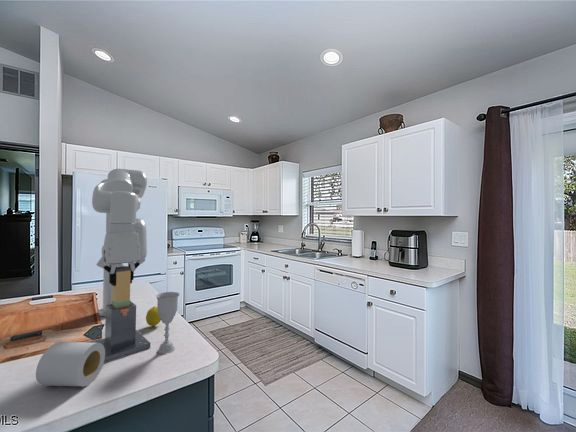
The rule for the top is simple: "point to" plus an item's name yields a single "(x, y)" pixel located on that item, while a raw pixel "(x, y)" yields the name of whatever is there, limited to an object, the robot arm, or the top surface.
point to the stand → (121, 333)
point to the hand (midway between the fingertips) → (121, 283)
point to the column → (121, 287)
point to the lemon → (153, 317)
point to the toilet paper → (70, 364)
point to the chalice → (167, 316)
